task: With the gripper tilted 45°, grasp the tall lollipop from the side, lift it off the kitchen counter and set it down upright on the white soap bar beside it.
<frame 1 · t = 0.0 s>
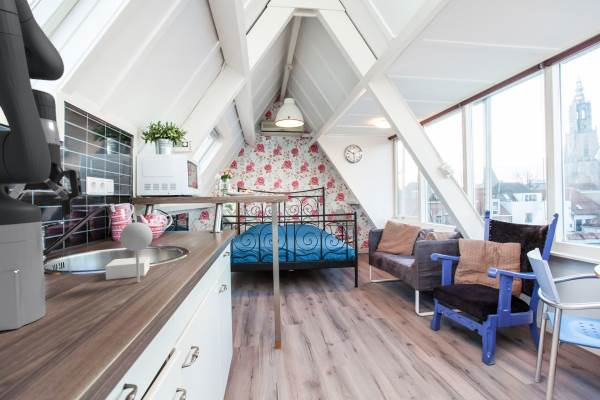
hand: (42, 218, 65), 17 cm above the countertop, tool pointing down, fingers open, 8 cm apart
lollipop: (138, 283, 76), on the countertop
white soap bar: (129, 273, 84), on the countertop
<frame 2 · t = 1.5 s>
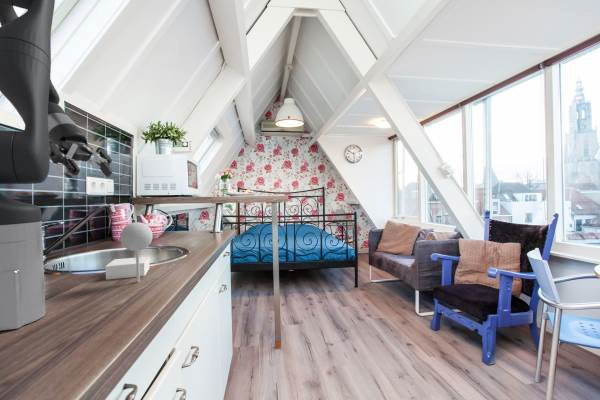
hand: (94, 173, 79), 28 cm above the countertop, tool tilted 45°, fingers open, 8 cm apart
nothing on the countertop moved.
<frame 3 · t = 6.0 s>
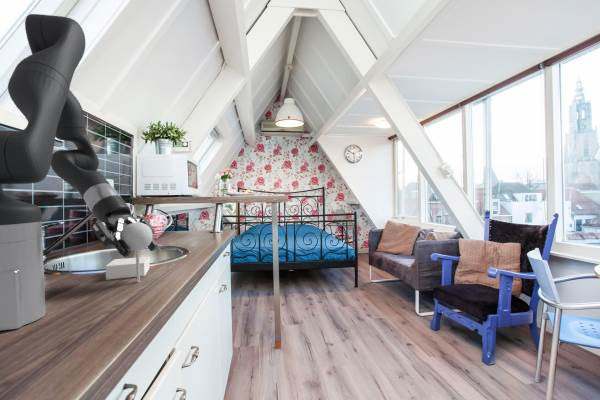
hand: (141, 251, 75), 8 cm above the countertop, tool tilted 45°, fingers closed on lollipop, 7 cm apart
lollipop: (138, 283, 76), on the countertop, touching gripper
when the fingers open (13 cm above the countertop, at t = 12.0 s): lollipop drops 1 cm, resting on white soap bar.
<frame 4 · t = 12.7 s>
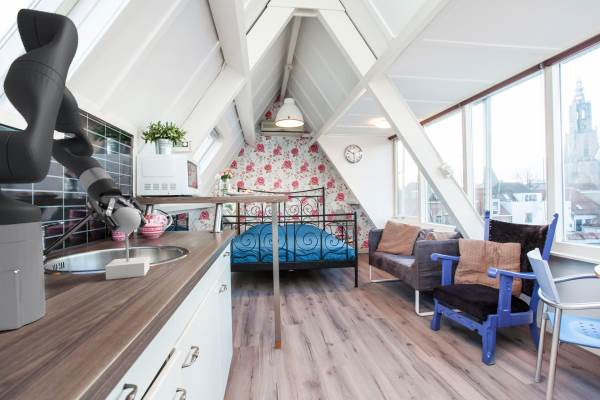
hand: (131, 227, 84), 13 cm above the countertop, tool tilted 45°, fingers open, 8 cm apart
lollipop: (127, 261, 84), point 3 cm above the countertop, touching white soap bar
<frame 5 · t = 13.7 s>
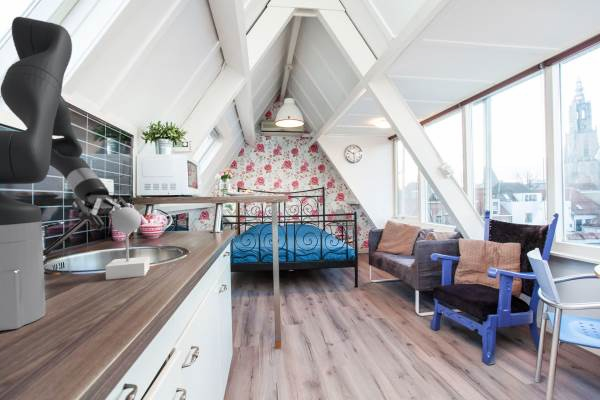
hand: (116, 226, 86), 13 cm above the countertop, tool tilted 45°, fingers open, 8 cm apart
nothing on the countertop moved.
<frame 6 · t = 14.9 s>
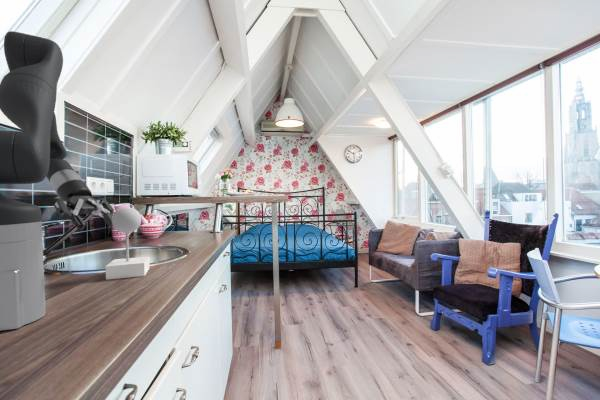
hand: (98, 226, 88), 13 cm above the countertop, tool tilted 45°, fingers open, 8 cm apart
nothing on the countertop moved.
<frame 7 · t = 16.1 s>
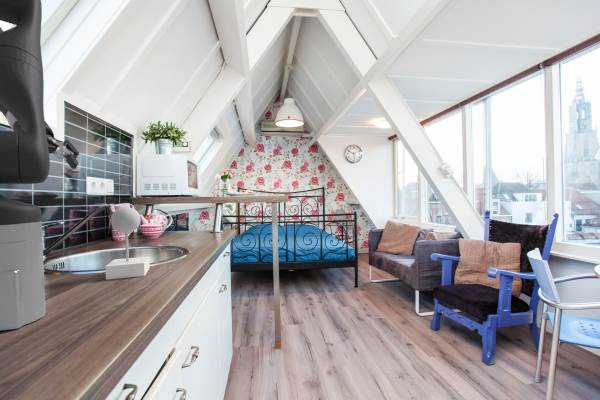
hand: (58, 165, 79), 30 cm above the countertop, tool tilted 45°, fingers open, 8 cm apart
nothing on the countertop moved.
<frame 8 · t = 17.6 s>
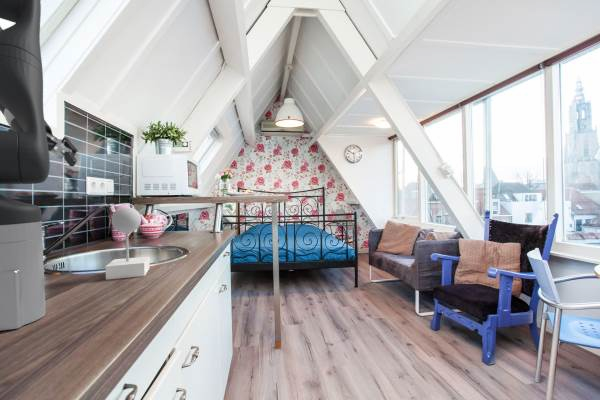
hand: (56, 162, 79), 31 cm above the countertop, tool tilted 45°, fingers open, 8 cm apart
nothing on the countertop moved.
at the end: lollipop 0.3 cm off-centre on the white soap bar, point 3.3 cm above the white soap bar's base; lollipop tilted 1°; the gripper is holding nothing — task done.
